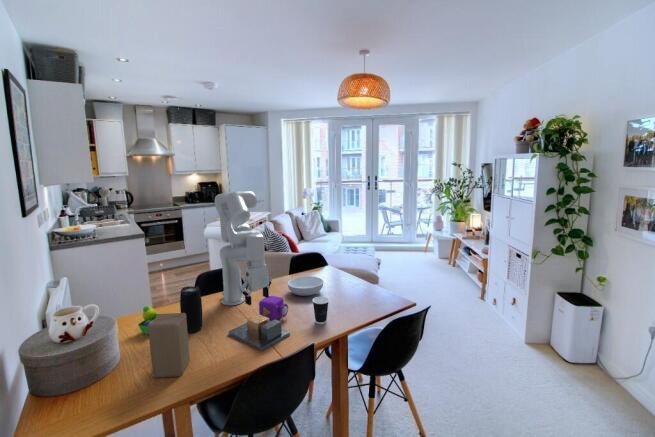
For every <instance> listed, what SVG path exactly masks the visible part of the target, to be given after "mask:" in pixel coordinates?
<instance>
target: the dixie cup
mask: <svg viewBox="0 0 655 437" xmlns="http://www.w3.org/2000/svg"><path fill="white" fill-rule="evenodd" d="M329 301H330V298H328V297H326V296H315V297H313V298H312V304H313V313H314V319H315V324H317V325H324V324H326V323H327V319H328V310H329Z"/></svg>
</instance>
